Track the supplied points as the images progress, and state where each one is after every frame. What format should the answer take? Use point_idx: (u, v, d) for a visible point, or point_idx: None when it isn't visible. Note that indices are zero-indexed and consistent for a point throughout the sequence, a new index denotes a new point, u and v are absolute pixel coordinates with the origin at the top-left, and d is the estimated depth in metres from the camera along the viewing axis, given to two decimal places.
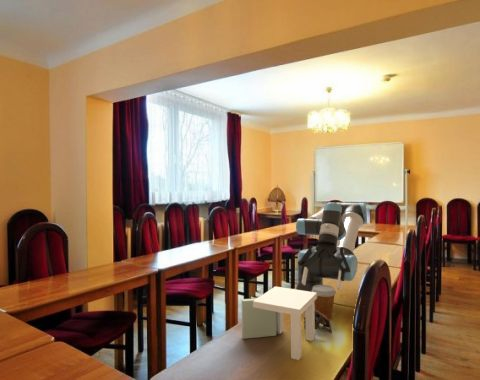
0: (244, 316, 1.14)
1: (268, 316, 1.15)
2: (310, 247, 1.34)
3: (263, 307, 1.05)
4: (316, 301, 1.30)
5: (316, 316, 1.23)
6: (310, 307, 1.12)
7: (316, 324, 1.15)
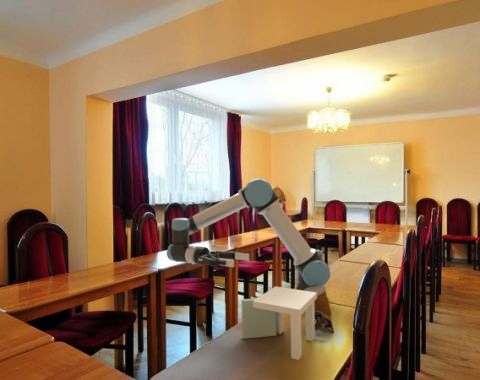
0: (244, 316, 1.14)
1: (268, 316, 1.15)
2: None
3: (263, 307, 1.05)
4: None
5: (318, 316, 1.23)
6: (310, 307, 1.12)
7: (318, 324, 1.15)
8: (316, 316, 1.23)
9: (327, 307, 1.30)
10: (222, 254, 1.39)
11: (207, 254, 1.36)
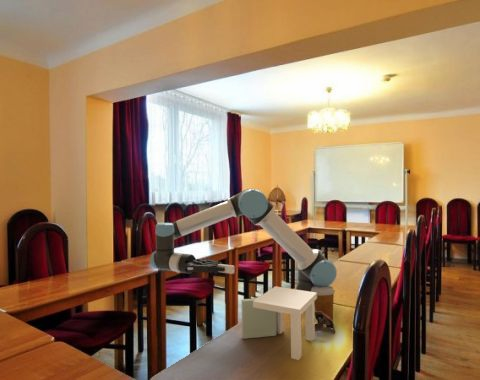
0: (244, 316, 1.14)
1: (268, 316, 1.15)
2: None
3: (263, 307, 1.05)
4: None
5: (319, 317, 1.23)
6: (310, 307, 1.12)
7: (320, 325, 1.15)
8: (317, 316, 1.23)
9: (331, 310, 1.29)
10: (206, 263, 1.26)
11: (193, 262, 1.26)
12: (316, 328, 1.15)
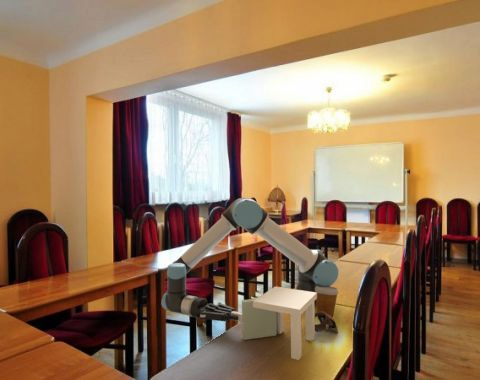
0: (245, 317, 1.13)
1: (268, 316, 1.15)
2: None
3: (263, 307, 1.05)
4: (317, 299, 1.32)
5: (322, 317, 1.22)
6: (310, 307, 1.12)
7: (323, 325, 1.14)
8: (320, 317, 1.22)
9: (332, 310, 1.30)
10: (219, 309, 1.23)
11: (206, 308, 1.23)
12: (319, 329, 1.15)
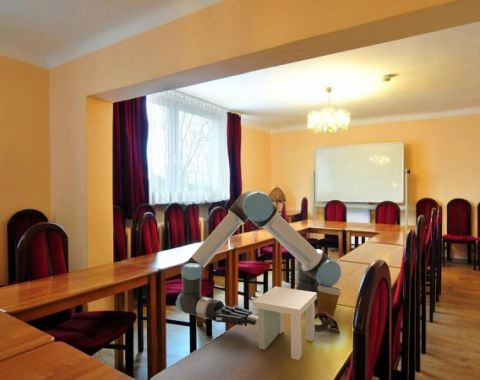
0: (264, 325, 1.06)
1: (274, 317, 1.14)
2: None
3: (263, 307, 1.05)
4: (319, 297, 1.32)
5: (323, 317, 1.22)
6: (310, 307, 1.12)
7: (324, 325, 1.14)
8: (321, 317, 1.22)
9: (333, 310, 1.30)
10: (235, 312, 1.20)
11: (222, 310, 1.20)
12: (321, 329, 1.14)
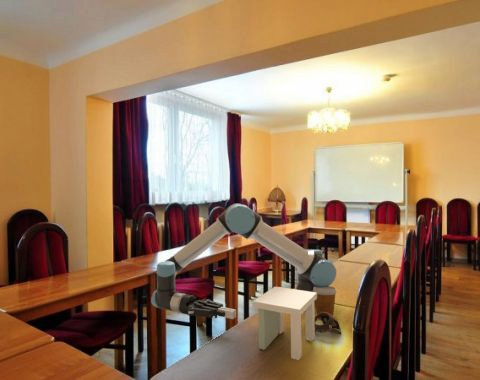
0: (264, 325, 1.06)
1: (274, 317, 1.14)
2: None
3: (263, 307, 1.05)
4: None
5: (325, 317, 1.22)
6: (310, 307, 1.12)
7: (326, 326, 1.14)
8: (323, 317, 1.22)
9: (331, 310, 1.29)
10: (207, 305, 1.27)
11: (194, 304, 1.26)
12: (322, 329, 1.14)
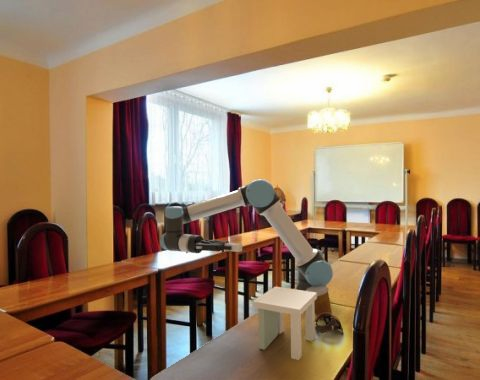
0: (264, 325, 1.06)
1: (274, 317, 1.14)
2: None
3: (263, 307, 1.05)
4: None
5: (327, 318, 1.22)
6: (310, 307, 1.12)
7: (328, 326, 1.14)
8: (325, 317, 1.21)
9: (328, 308, 1.30)
10: (214, 243, 1.33)
11: (202, 242, 1.33)
12: (325, 330, 1.14)
